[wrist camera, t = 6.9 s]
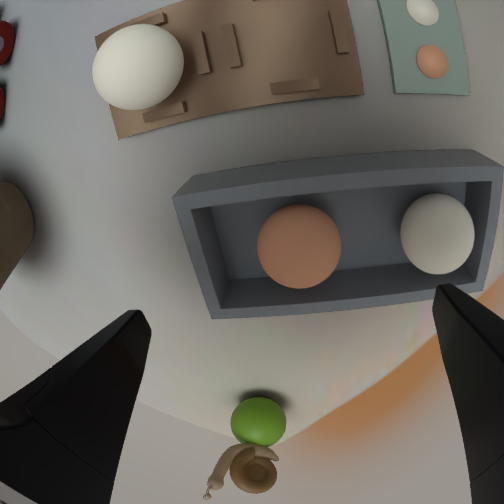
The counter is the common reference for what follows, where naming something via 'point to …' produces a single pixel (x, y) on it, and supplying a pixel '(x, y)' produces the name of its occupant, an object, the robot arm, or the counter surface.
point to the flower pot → (13, 228)
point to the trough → (346, 220)
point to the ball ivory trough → (437, 233)
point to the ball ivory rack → (138, 67)
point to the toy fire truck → (5, 52)
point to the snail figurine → (251, 447)
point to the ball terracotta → (299, 246)
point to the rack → (248, 57)
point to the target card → (425, 46)
